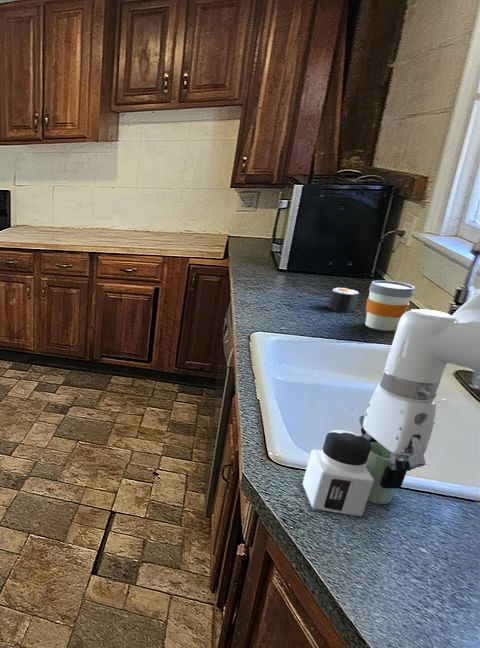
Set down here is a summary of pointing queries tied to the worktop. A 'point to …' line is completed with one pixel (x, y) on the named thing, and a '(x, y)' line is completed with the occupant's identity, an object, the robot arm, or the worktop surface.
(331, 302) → the sushi
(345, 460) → the container
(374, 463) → the cup
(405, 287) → the reusable coffee cup
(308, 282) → the worktop surface
